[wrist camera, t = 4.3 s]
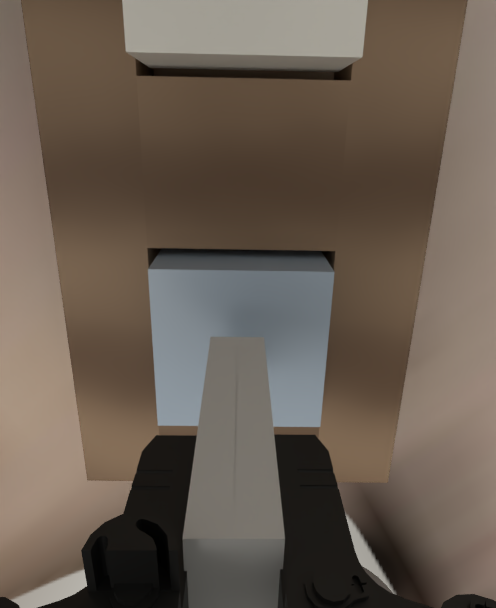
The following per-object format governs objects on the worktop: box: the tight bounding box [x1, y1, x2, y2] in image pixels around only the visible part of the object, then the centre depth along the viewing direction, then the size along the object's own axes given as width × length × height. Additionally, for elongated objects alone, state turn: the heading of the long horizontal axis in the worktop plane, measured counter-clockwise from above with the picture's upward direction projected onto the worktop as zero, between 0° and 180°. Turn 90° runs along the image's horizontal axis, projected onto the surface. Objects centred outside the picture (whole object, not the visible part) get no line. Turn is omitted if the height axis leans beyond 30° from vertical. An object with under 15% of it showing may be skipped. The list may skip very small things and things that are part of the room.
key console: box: [21, 0, 468, 483], centre depth 17 cm, size 26×13×4 cm, turn 179°
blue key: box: [148, 248, 334, 427], centre depth 17 cm, size 6×6×3 cm
